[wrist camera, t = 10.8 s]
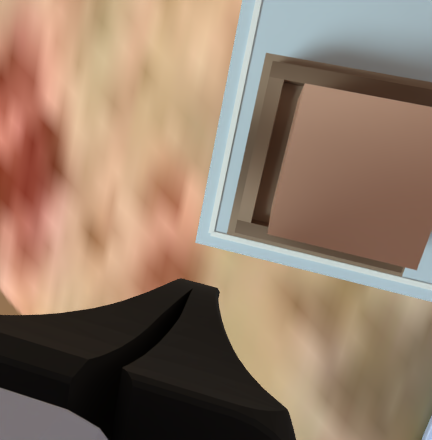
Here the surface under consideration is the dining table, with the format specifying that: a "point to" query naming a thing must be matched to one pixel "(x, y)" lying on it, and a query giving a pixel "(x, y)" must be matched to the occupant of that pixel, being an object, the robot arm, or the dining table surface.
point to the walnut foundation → (278, 136)
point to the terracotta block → (357, 176)
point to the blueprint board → (325, 53)
